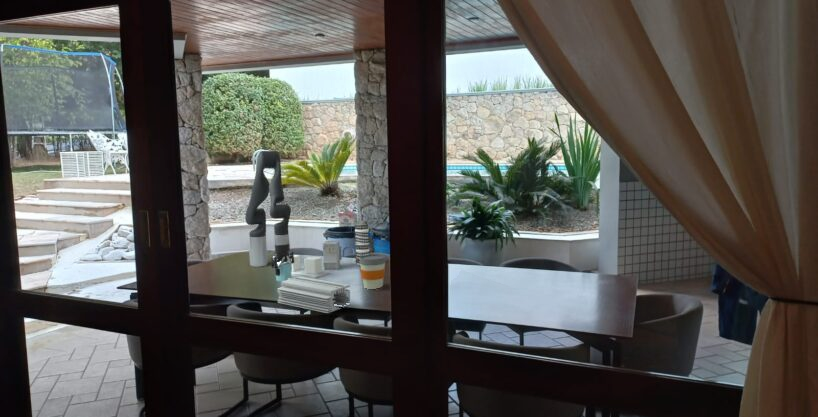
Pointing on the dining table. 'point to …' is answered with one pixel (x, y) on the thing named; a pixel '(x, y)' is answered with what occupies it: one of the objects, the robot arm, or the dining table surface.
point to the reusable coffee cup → (372, 270)
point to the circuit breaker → (331, 255)
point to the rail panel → (308, 267)
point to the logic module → (284, 272)
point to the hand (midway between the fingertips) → (283, 273)
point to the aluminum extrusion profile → (313, 294)
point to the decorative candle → (361, 240)
